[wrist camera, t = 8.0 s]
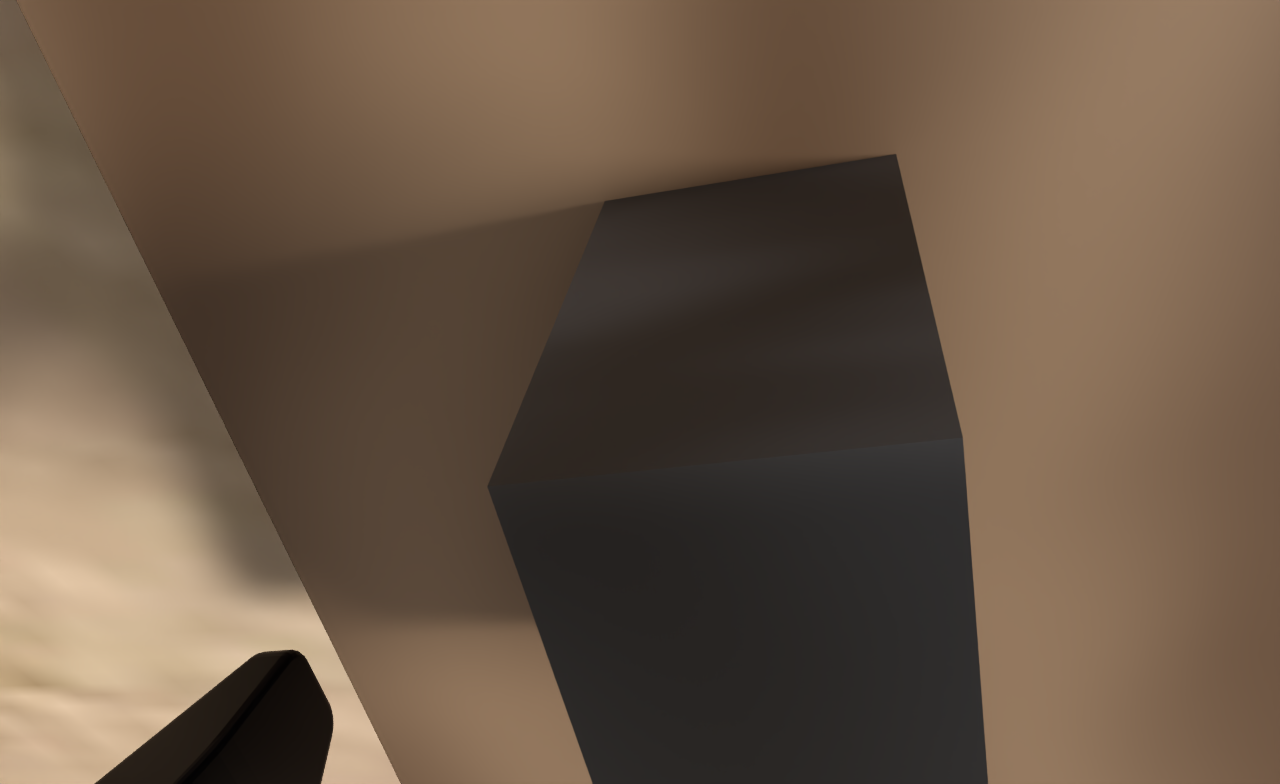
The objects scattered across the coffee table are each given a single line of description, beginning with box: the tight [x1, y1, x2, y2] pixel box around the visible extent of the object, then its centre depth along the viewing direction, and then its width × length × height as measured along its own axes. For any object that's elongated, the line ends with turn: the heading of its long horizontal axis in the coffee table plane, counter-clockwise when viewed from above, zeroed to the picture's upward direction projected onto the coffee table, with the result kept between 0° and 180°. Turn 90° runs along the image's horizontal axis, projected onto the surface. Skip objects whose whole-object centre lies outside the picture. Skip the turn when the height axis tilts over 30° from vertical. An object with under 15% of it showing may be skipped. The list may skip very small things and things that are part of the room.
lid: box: [16, 0, 1280, 784], centre depth 10 cm, size 14×14×6 cm
